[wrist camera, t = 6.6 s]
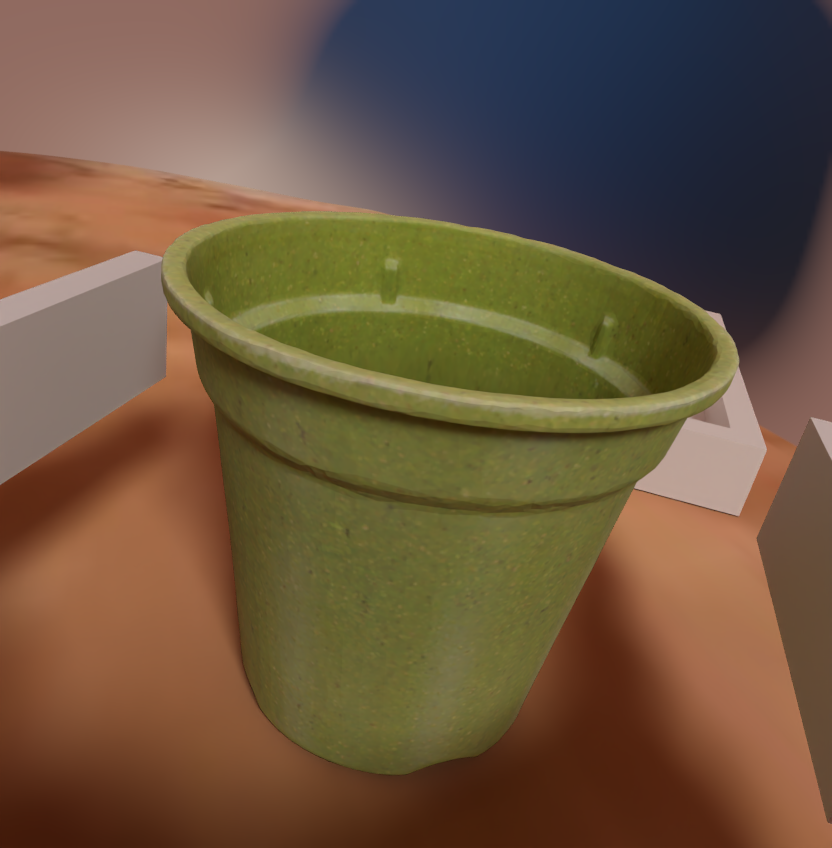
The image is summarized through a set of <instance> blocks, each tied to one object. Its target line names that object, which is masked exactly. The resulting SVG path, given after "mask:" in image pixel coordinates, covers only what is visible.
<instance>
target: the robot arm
mask: <svg viewBox="0 0 832 848" xmlns="http://www.w3.org/2000/svg"><path fill="white" fill-rule="evenodd" d="M162 259H163V257H160V256H156V255H152V254H148V253H144V252H140V251H136V250H135V251H133V252H130V253H127V254H124V255H122V256H119V257H116V258H113V259H111V260H108V261H105V262H102V263H100V264H97V265H94V266H91V267H88V268H86V269H83V270H80V271H77V272H75V273H72V274H69V275H66V276H64V277H61V278H58V279H55V280H53V281H50V282H47V283H44V284H42V285H39V286H36V287H33V288H31V289H28V290H25V291H22V292H20V293H17V294H14V295H11V296H9V297H6V298H3V299H0V485H1V484H2V483H4V482H5V481H7V480H8V479H10V478H12V477H13V476H15V475H16V474H18V473H19V472H21V471H22V470H24V469H25V468H27V467H28V466H30V465H31V464H33V463H35V462H36V461H38V460H39V459H41V458H42V457H44V456H45V455H47V454H48V453H50V452H51V451H53V450H54V449H56V448H57V447H59V446H61V445H62V444H64V443H65V442H67V441H68V440H70V439H71V438H73V437H74V436H76V435H77V434H79V433H80V432H82V431H83V430H85V429H87V428H88V427H90V426H91V425H93V424H94V423H96V422H97V421H99V420H100V419H102V418H103V417H105V416H106V415H108V414H110V413H111V412H113V411H114V410H116V409H117V408H119V407H120V406H122V405H123V404H125V403H126V402H128V401H129V400H131V399H132V398H134V397H136V396H137V395H139V394H140V393H142V392H143V391H145V390H146V389H148V388H149V387H151V386H152V385H154V384H155V383H157V382H158V381H160V380H162V379H163V378H165V377H166V344H167V299H166V297H165V295H164V292H163V287H162V282H161V264H162ZM757 542H758V546H759V550H760V554H761V558H762V562H763V566H764V570H765V574H766V578H767V582H768V586H769V590H770V594H771V598H772V602H773V606H774V610H775V614H776V618H777V622H778V626H779V630H780V634H781V638H782V642H783V646H784V650H785V654H786V658H787V662H788V666H789V670H790V674H791V678H792V682H793V686H794V690H795V694H796V698H797V702H798V706H799V710H800V714H801V718H802V722H803V726H804V730H805V734H806V738H807V742H808V746H809V750H810V754H811V758H812V762H813V766H814V770H815V774H816V778H817V782H818V786H819V790H820V794H821V798H822V802H823V806H824V810H825V814H826V818H827V822H828V823H831V824H832V422H827V421H824V420H820V419H815V418H812V417H810V420H809V422H808V424H807V426H806V429H805V431H804V433H803V435H802V437H801V440H800V442H799V445H798V446H797V449H796V451H795V453H794V455H793V458H792V460H791V462H790V464H789V467H788V469H787V471H786V473H785V476H784V478H783V480H782V482H781V485H780V487H779V489H778V491H777V494H776V496H775V498H774V500H773V503H772V505H771V507H770V509H769V511H768V514H767V516H766V518H765V520H764V523H763V525H762V527H761V529H760V532H759V534H758V536H757Z"/></svg>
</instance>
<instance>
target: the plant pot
mask: <svg viewBox="0 0 832 848" xmlns="http://www.w3.org/2000/svg"><path fill="white" fill-rule="evenodd" d="M161 282H162V287H163V292H164V295H165V297H166V299H167V301H168V303H169V305H170V307H171V309H172V310H173V312H174V313H175V314H176V315H177V316H178V318H179V319H180V320H181V321H182V322H183V323H184V324H185V325H186V326H187V327H188V328H190V329H191V333H192V340H193V346H194V352H195V359H196V364H197V369H198V374H199V376H200V379H201V382H202V384H203V386H204V388H205V390H206V392H207V393H208V395H209V397H210V399H211V400H212V402H213V404H214V408H215V415H216V423H217V431H218V440H219V448H220V456H221V465H222V473H223V482H224V490H225V498H226V506H227V514H228V522H229V530H230V540H231V550H232V559H233V569H234V579H235V589H236V600H237V610H238V620H239V630H240V640H241V651H242V659H243V664H244V668H245V671H246V674H247V677H248V679H249V682H250V684H251V687H252V689H253V692H254V694H255V697H256V699H257V702H258V704H259V707H260V709H261V710H262V711H263V713H264V714H265V715H266V717H267V718H268V719H269V720H270V721H271V722H272V723H273V725H274V726H275V727H276V728H277V729H278V730H279V731H281V732H282V733H283V734H284V735H285V736H286V737H287V738H289V739H290V740H291V741H293V742H294V743H296V744H297V745H299V746H300V747H302V748H303V749H305V750H307V751H309V752H311V753H313V754H315V755H316V756H319V757H321V758H323V759H325V760H328V761H330V762H333V763H336V764H339V765H342V766H345V767H348V768H351V769H355V770H360V771H364V772H369V773H375V774H384V775H406V774H409V773H412V772H414V771H417V770H419V769H422V768H424V767H427V766H430V765H434V764H437V763H441V762H445V761H449V760H453V759H458V758H466V757H476V756H478V755H480V754H482V753H483V752H485V751H486V750H488V749H489V748H490V747H492V746H493V745H494V744H495V743H497V742H498V741H499V740H500V738H501V737H502V736H503V735H504V734H505V733H506V732H507V730H508V729H509V728H510V726H511V725H512V724H513V722H514V721H515V719H516V717H517V715H518V713H519V711H520V709H521V707H522V705H523V703H524V701H525V699H526V697H527V695H528V693H529V691H530V689H531V687H532V685H533V683H534V681H535V679H536V677H537V675H538V673H539V671H540V669H541V667H542V665H543V663H544V661H545V659H546V657H547V655H548V653H549V651H550V649H551V647H552V645H553V643H554V641H555V639H556V637H557V635H558V634H559V632H560V630H561V628H562V626H563V624H564V622H565V620H566V618H567V616H568V614H569V612H570V610H571V608H572V606H573V604H574V602H575V600H576V599H577V597H578V595H579V593H580V591H581V589H582V587H583V585H584V583H585V581H586V579H587V578H588V576H589V574H590V572H591V570H592V568H593V566H594V564H595V562H596V560H597V558H598V556H599V554H600V552H601V550H602V548H603V546H604V544H605V542H606V540H607V538H608V536H609V534H610V533H611V531H612V529H613V527H614V525H615V523H616V521H617V519H618V517H619V515H620V513H621V511H622V509H623V508H624V506H625V504H626V502H627V500H628V498H629V496H630V494H631V492H632V490H633V488H634V487H635V485H636V483H637V482H638V481H639V480H640V479H642V478H643V477H645V476H646V475H647V474H649V473H650V472H651V471H652V470H654V469H655V468H656V467H657V466H658V464H659V463H660V462H661V461H662V460H663V458H664V457H665V456H666V454H667V452H668V450H669V449H670V447H671V445H672V444H673V442H674V440H675V438H676V437H677V435H678V433H679V431H680V430H681V428H682V426H683V425H684V423H685V421H686V420H687V418H689V417H691V416H694V415H696V414H698V413H701V412H702V411H704V410H706V409H707V408H709V407H711V406H712V405H713V404H714V403H716V402H717V401H718V400H719V399H720V398H721V397H722V396H723V395H724V394H725V393H726V391H727V390H728V388H729V387H730V385H731V382H732V380H733V378H734V376H735V373H736V371H737V368H738V365H739V357H738V353H737V348H736V347H735V343H734V341H733V340H732V338H731V336H730V335H729V334H728V333H727V331H726V330H725V329H724V327H722V326H721V325H719V324H718V323H717V322H716V320H714V319H713V318H712V317H711V316H710V315H709V314H708V313H707V312H706V311H704V310H703V309H702V308H700V307H699V306H697V305H695V304H694V303H692V302H691V301H689V300H687V299H686V298H684V297H683V296H681V295H679V294H677V293H675V292H673V291H671V290H669V289H667V288H665V287H664V286H662V285H660V284H657V283H656V282H654V281H652V280H649V279H647V278H644V277H642V276H639V275H637V274H635V273H632V272H630V271H627V270H624V269H621V268H617V267H614V266H612V265H610V264H607V263H605V262H602V261H600V260H597V259H595V258H592V257H589V256H586V255H584V254H580V253H577V252H573V251H570V250H568V249H565V248H562V247H558V246H555V245H552V244H548V243H544V242H540V241H535V240H530V239H524V238H521V237H518V236H515V235H511V234H507V233H502V232H497V231H493V230H489V229H482V228H477V227H467V226H463V225H459V224H454V223H449V222H443V221H435V220H429V219H423V218H414V217H402V216H393V215H384V214H371V213H359V212H332V211H305V212H284V213H267V214H255V215H247V216H241V217H237V218H232V219H226V220H221V221H218V222H214V223H211V224H206V225H202V226H200V227H197V228H194V229H192V230H190V231H188V232H186V233H184V234H183V235H181V236H179V237H178V238H177V239H176V240H175V241H174V243H173V244H172V245H170V246H169V247H168V249H167V250H166V252H165V254H164V255H163V259H162V264H161Z"/></svg>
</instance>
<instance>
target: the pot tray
mask: <svg viewBox="0 0 832 848" xmlns="http://www.w3.org/2000/svg"><path fill="white" fill-rule="evenodd" d="M706 312H707V313H708V314H709V315H710V316H711V317H712V318H713V319H714V320H716V322H717V323H718V324H719V325H721V326H722V327H724V329H725V326H724V323H723V320H722V317H721V315H720V314H717V313H713V312H709V311H706ZM725 330H726V329H725ZM766 451H767V448H766V445H765V443H764V440H763V437H762V434H761V431H760V428H759V425H758V422H757V419H756V416H755V413H754V411H753V408H752V405H751V402H750V399H749V396H748V393H747V390H746V387H745V384H744V381H743V378H742V376H741V373H740V370H739V367H738V368H737V371H736V373H735V376H734V378H733V380H732V382H731V385H730V387H729V388H728V390H727V391H726V393H725V394H724V395H723V396H722V397H721V398H720V399H719V400H718V401H717V402H716V403H714V404H713V405H712V406H711V407H709V408H707V409H706V410H704V411H702V412H701V413H698V414H696V415H694V416H691V417H689V418H687V420H686V421H685V423H684V425H683V426H682V428H681V430H680V431H679V433H678V435H677V437H676V438H675V440H674V442H673V444H672V445H671V447H670V449H669V450H668V452H667V454H666V456H665V457H664V458H663V460H662V461H661V462H660V463H659V464H658V466H657V467H656V468H655V469H654V470H652V471H651V472H650V473H649V474H647V475H646V476H645V477H643V478H642V479H640V480H639V481H638V482H637V483H636V485H635V487H634V488H635V489H639V490H643V491H646V492H650V493H654V494H657V495H661V496H665V497H669V498H672V499H676V500H680V501H684V502H687V503H691V504H695V505H698V506H702V507H706V508H710V509H713V510H717V511H721V512H725V513H728V514H732V515H736V516H739V515H740V512H741V510H742V508H743V505H744V503H745V501H746V498H747V496H748V494H749V491H750V489H751V486H752V484H753V482H754V479H755V477H756V475H757V472H758V470H759V468H760V465H761V463H762V461H763V458H764V456H765V454H766Z"/></svg>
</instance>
